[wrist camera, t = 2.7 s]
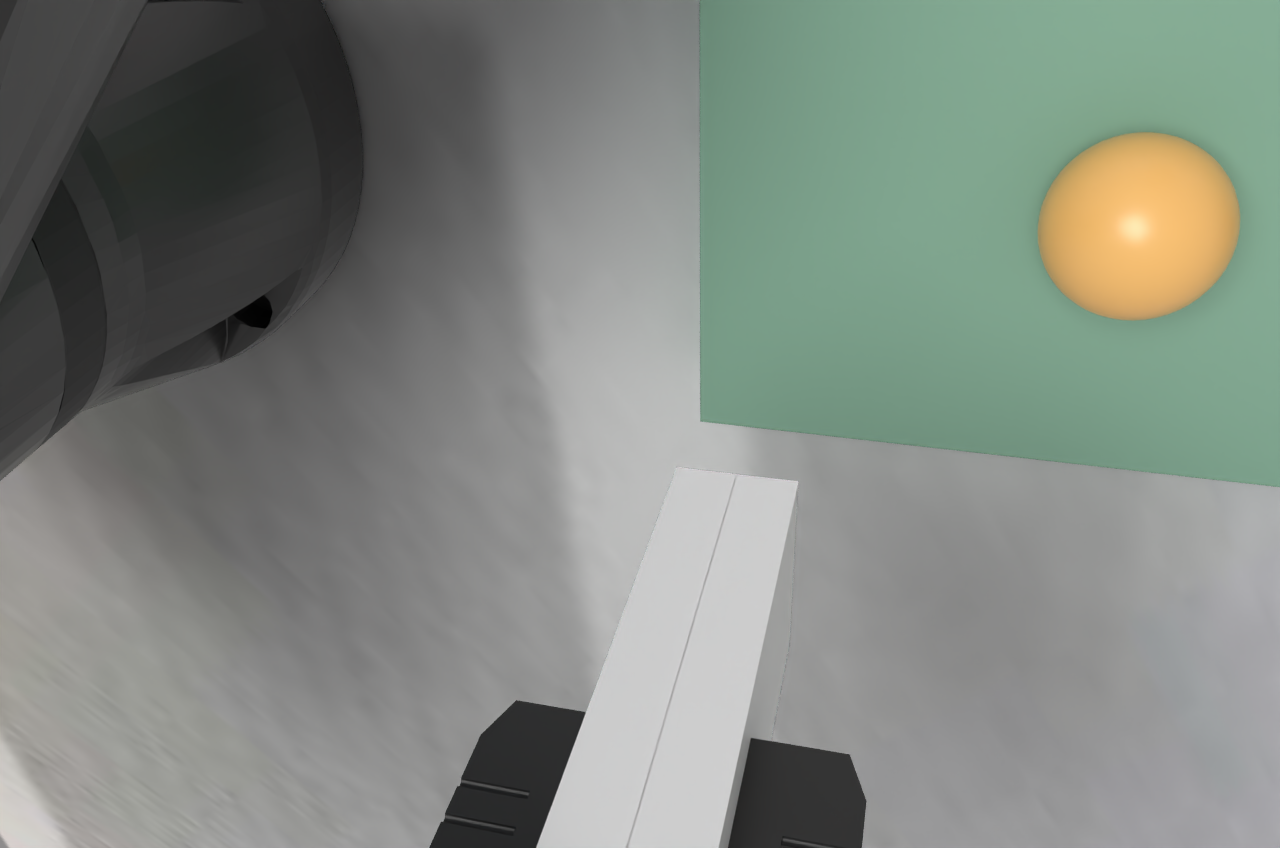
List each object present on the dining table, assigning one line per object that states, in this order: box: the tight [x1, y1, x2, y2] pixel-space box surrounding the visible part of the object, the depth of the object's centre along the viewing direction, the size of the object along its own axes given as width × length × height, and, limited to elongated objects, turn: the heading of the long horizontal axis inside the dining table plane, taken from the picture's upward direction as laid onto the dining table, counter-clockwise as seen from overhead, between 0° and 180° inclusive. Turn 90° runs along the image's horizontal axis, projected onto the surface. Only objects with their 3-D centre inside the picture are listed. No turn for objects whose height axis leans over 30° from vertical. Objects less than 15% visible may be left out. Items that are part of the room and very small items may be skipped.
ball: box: [1037, 132, 1240, 320], centre depth 22 cm, size 4×4×4 cm
